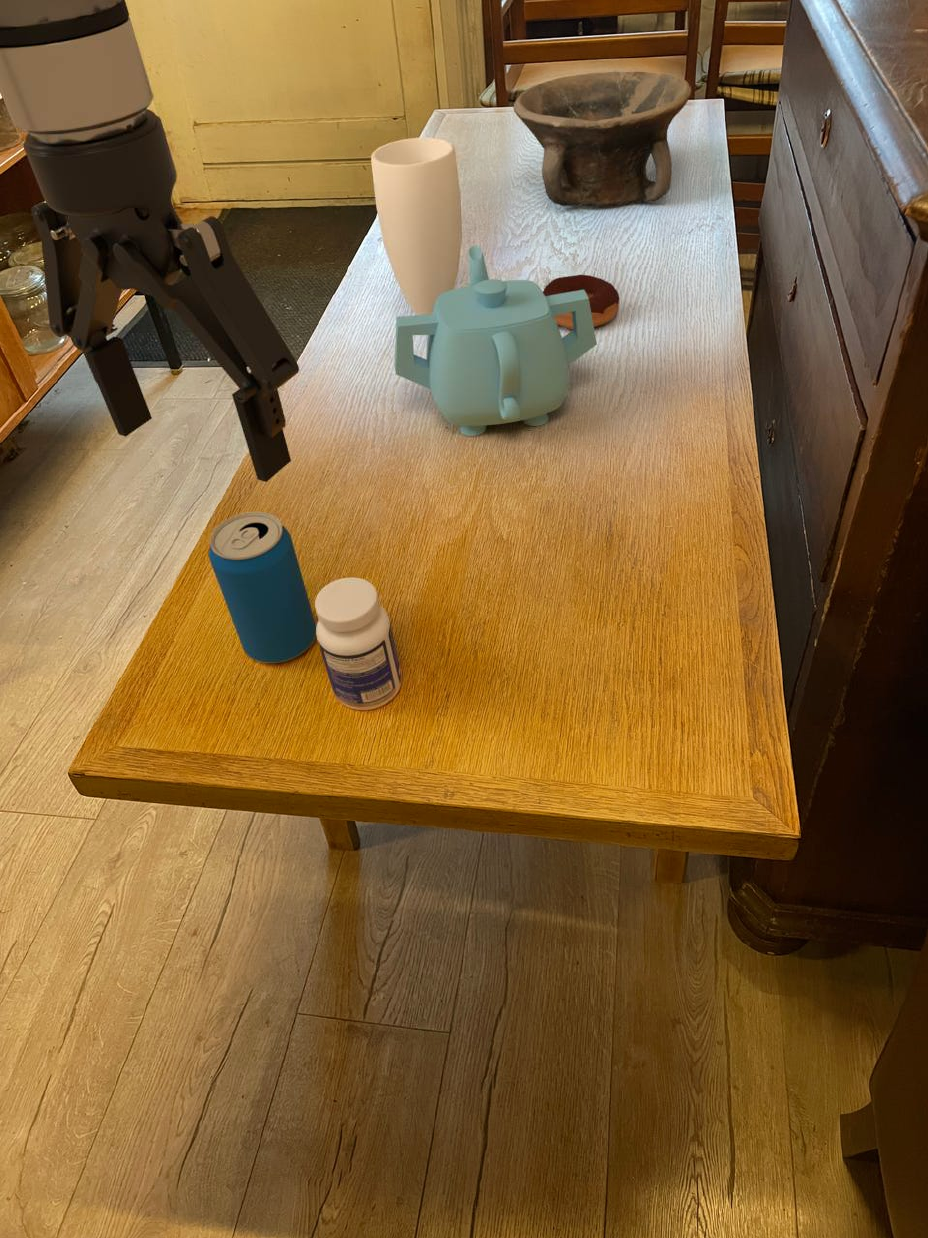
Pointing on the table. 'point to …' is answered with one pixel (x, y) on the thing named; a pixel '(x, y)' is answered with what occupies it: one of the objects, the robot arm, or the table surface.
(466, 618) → the table surface
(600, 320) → the donut
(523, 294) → the teapot
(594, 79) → the brown clay pot
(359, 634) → the pill bottle
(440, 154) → the cup
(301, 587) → the beverage can
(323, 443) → the table surface
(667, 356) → the table surface
